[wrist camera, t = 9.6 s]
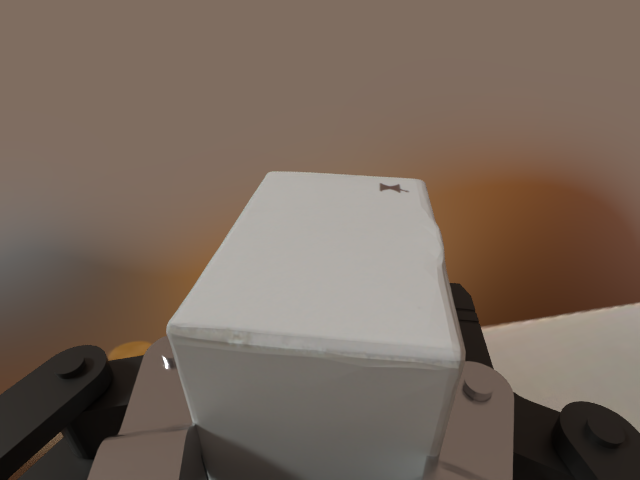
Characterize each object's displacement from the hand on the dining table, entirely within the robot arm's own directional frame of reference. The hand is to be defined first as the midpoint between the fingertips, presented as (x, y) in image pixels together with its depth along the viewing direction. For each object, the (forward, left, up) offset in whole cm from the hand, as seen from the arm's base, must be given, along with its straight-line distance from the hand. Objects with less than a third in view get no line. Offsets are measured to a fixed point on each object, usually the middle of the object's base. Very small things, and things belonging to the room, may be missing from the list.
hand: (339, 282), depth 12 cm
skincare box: (0, -3, -9) cm, 9 cm away
